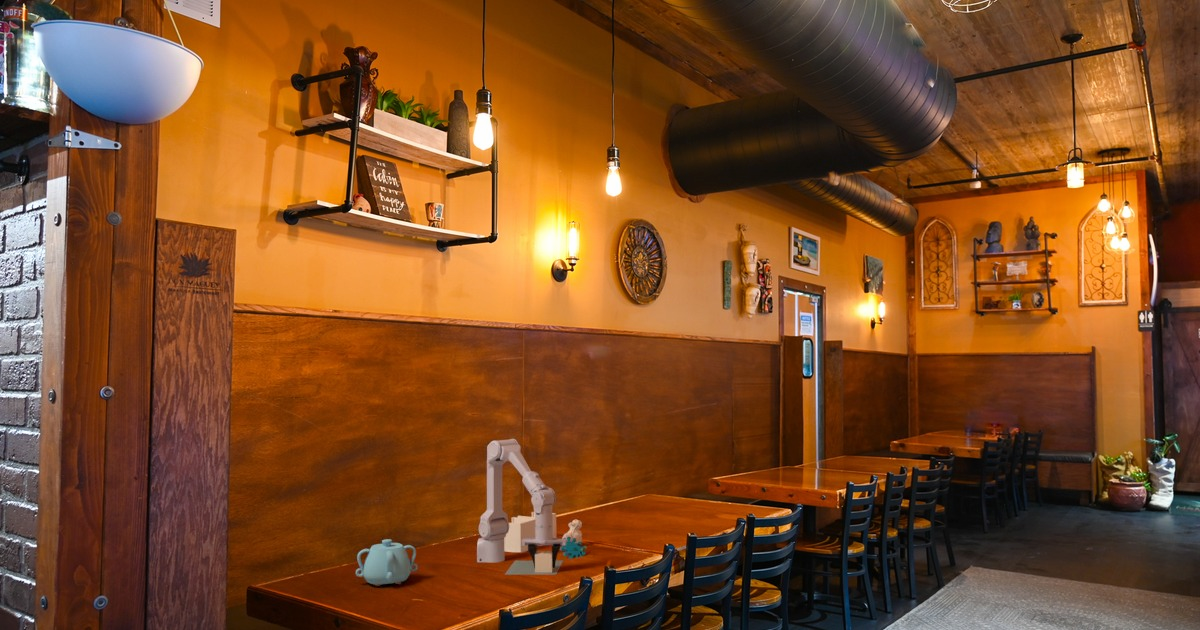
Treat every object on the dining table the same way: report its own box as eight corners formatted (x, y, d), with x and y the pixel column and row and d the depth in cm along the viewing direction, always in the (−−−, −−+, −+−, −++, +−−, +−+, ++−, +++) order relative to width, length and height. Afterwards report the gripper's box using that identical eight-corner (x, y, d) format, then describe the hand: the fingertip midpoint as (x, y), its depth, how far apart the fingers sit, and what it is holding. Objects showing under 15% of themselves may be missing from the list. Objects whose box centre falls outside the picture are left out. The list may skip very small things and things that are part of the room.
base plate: (504, 578, 272) (504, 574, 272) (514, 564, 292) (514, 560, 292) (556, 578, 271) (556, 574, 271) (563, 564, 291) (563, 560, 291)
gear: (566, 558, 292) (557, 535, 299) (558, 569, 294) (550, 545, 301) (592, 558, 298) (583, 535, 305) (584, 568, 300) (576, 545, 307)
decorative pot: (349, 585, 267) (349, 542, 268) (386, 574, 281) (386, 533, 282) (386, 591, 259) (386, 547, 259) (422, 579, 272) (422, 537, 273)
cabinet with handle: (535, 572, 274) (534, 554, 274) (537, 568, 279) (537, 550, 280) (551, 572, 273) (551, 553, 274) (554, 568, 279) (553, 550, 279)
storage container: (520, 553, 310) (520, 523, 311) (496, 551, 315) (496, 521, 316) (556, 541, 332) (556, 513, 333) (533, 539, 337) (533, 511, 338)
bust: (565, 555, 315) (580, 532, 313) (551, 541, 318) (566, 519, 316) (581, 549, 326) (596, 527, 323) (568, 535, 329) (582, 514, 326)
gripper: (520, 528, 274) (520, 570, 273) (564, 527, 273) (564, 570, 272) (523, 524, 281) (524, 565, 280) (566, 524, 280) (567, 565, 279)
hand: (544, 567), depth 276 cm, fingers closed on cabinet with handle, 5 cm apart
